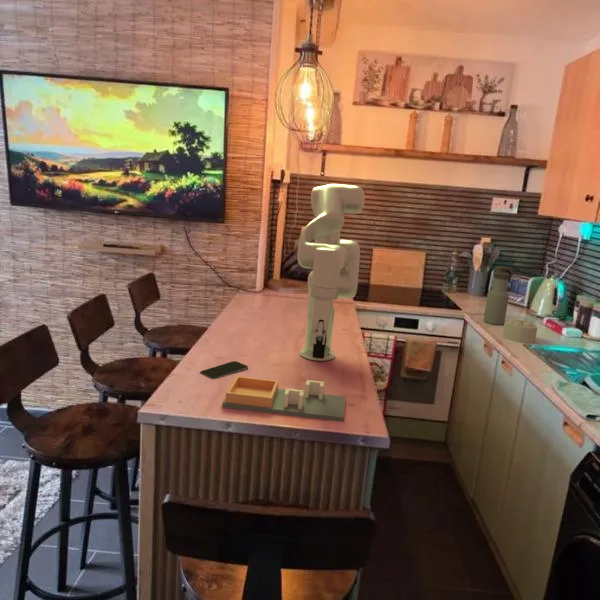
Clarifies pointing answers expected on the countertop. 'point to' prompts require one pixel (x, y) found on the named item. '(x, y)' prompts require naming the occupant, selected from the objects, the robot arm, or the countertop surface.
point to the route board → (302, 403)
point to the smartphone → (224, 370)
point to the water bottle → (498, 296)
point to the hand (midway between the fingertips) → (319, 353)
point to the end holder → (252, 391)
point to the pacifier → (324, 353)
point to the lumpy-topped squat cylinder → (520, 331)
